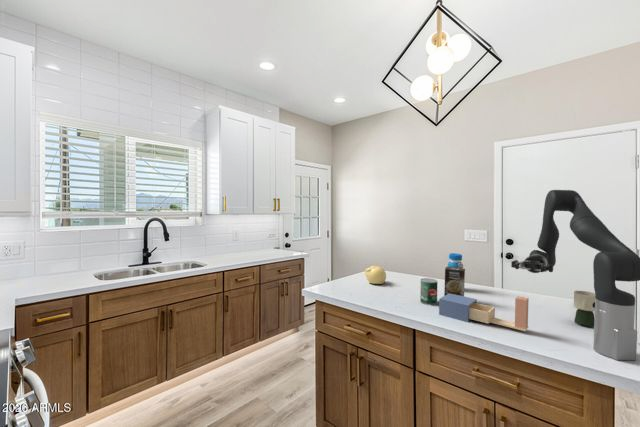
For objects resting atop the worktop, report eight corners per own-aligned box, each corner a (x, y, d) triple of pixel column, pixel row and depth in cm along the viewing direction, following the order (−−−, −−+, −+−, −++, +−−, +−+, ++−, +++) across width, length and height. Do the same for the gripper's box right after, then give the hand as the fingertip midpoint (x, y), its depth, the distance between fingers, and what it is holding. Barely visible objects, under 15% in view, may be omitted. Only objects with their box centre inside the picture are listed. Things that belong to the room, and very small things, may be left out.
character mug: (596, 331, 114) (597, 298, 113) (571, 326, 119) (572, 294, 118) (597, 323, 121) (598, 292, 121) (574, 318, 126) (575, 288, 126)
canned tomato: (422, 298, 153) (422, 277, 152) (438, 301, 149) (438, 279, 148) (418, 303, 146) (418, 281, 145) (435, 306, 142) (436, 283, 141)
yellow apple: (374, 279, 190) (374, 262, 190) (389, 283, 181) (389, 266, 180) (362, 282, 183) (362, 265, 183) (377, 287, 174) (377, 268, 173)
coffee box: (443, 300, 150) (444, 268, 149) (445, 296, 156) (445, 266, 155) (463, 303, 146) (464, 270, 145) (464, 299, 151) (465, 268, 151)
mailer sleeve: (476, 314, 131) (476, 299, 130) (468, 322, 123) (468, 305, 123) (448, 308, 139) (449, 293, 139) (439, 314, 131) (439, 298, 131)
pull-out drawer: (529, 326, 116) (529, 296, 116) (524, 332, 110) (525, 301, 110) (467, 311, 132) (467, 285, 132) (460, 316, 126) (460, 289, 126)
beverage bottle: (447, 290, 166) (448, 255, 166) (446, 286, 175) (446, 252, 174) (464, 292, 164) (464, 255, 163) (461, 287, 172) (462, 253, 171)
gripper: (517, 253, 138) (508, 256, 126) (556, 256, 128) (550, 261, 116) (517, 269, 138) (508, 274, 126) (556, 274, 128) (550, 280, 116)
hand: (528, 268), depth 121 cm, fingers open, 8 cm apart
